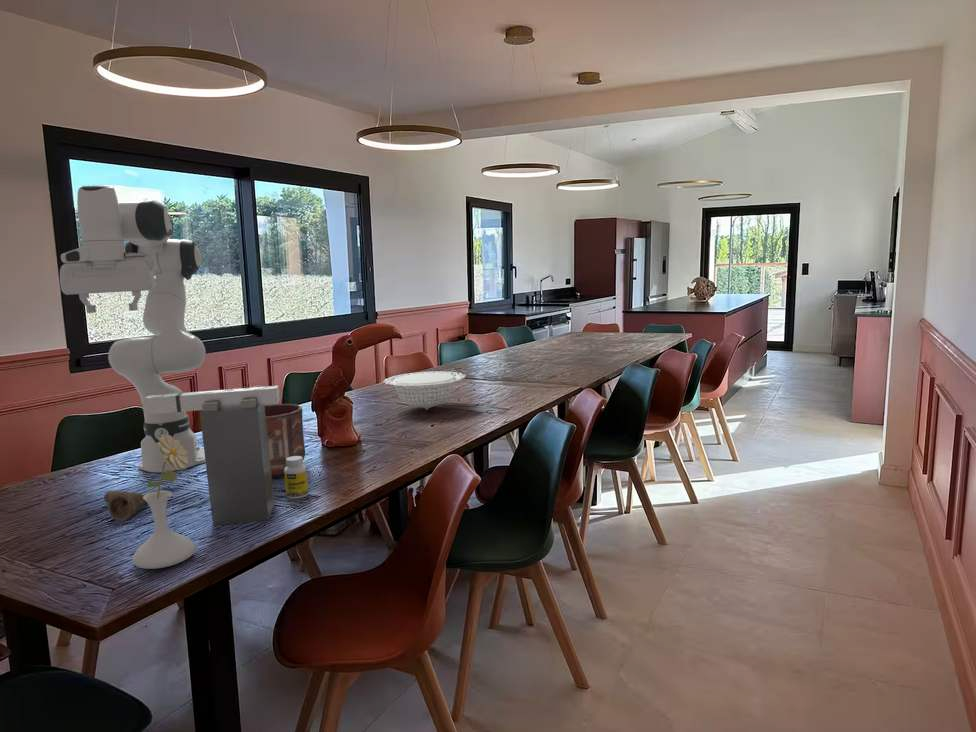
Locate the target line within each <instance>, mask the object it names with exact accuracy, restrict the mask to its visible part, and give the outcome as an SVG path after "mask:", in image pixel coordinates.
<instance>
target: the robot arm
mask: <svg viewBox="0 0 976 732" xmlns="http://www.w3.org/2000/svg"><path fill="white" fill-rule="evenodd" d="M76 200H77V201H76V202H77V206H76V207H77V215H78V216H77V218H78V223H79V226H80V228H81V232H82V236H81V243H82V244H81V245H82V246H81V247H78V248H77V247H76V248H75V249H72V250H68V251H67V252H64V253H63V252H62V253H61V254H60V260H61V262H62V263H63V264H62V265H61V266H60V269H59V285H60V291H61V292H62V293H63V294H64V295H66V296H67V295H68V296H70V295H78V296H79V301H81V303H82V304H83V305H84V306H85V309H86V310H85V311H86V313H87V314H95V313H97V309H96V304H92V303H91V302H90V301H89V298H90V294H107V293H109V294H110V293H124V292H125V293H126V292H127V293H128V292H131V296H132V297H134V298H133V299H132V302H131V303H128V310H129V311H131V312H132V311H138V310H139V308H138V307H139V305H138V303H139V301H140V299H141V297H142V292H144V291H147V295H146V300H145V304H144V309H143V315H142V323H143V326H144V328H146V330H147V331H149V332H150V333H151V334H152V336H150V335H149V336H137V337H134V336H133V337H128V338H124V339H119V340H116V341H115V342H113V344H112V345H111V346H110V348H109V350H108V356H107V359H108V363H109V366H110V367H111V368H112V370H113V371H115V372H116V373H117V374H119V375H121V376H122V377H124V378H125V379H126V380H128V381H129V382H130V383H131V384H132V385H133V387H134V388H135V390H136V391H137V392H138V395H139V397H140V401H141V405H142V411H143V416H144V422H143V430H144V435H145V437H144V438H143V439H142V440H141V441H140V448H141V449H140V451H141V463H139V464H138V465H137V470H143V471H146V472H148V473H161V472H162V467H163V464H164V460H163V456H161V454H160V451H159V449H158V447H159V446H158V442H160V441H159V438H161V435H163V436H164V437H165V436H166V435H167V434H168V435H169V436H172V438H173V439H174V440H175V441H176V440H178V441H179V442H180V445H181V446H183V448H184V450H186V451H187V455H185V456H186V457H188V462H189V463H188V464H186V463H184V465H185V467H186V469H187V468H191V467H193V466H197V465H201V464H204V463H206V461H205V453H204V447H199V445H198V439H197V438H198V437H197V435H196V434H195V433H194V431H192V430H191V425H190V415H189V414H187V411H184V412H172V413H160V414H147V415H145V408H144V400H143V398H145V397H147V396H149V395H162V394H175V393H183V391H182V390H181V389H180V388H179V387H177V386H176V385H173V384H170V383H168V382H166V381H165V380H164V379H163V378H162V377H161V374H169V373H183V372H188V371H192V370H195V369H198V368H201V366H202V365H203V363H204V361H205V359H206V347H205V345H204V343H203V341H202V340H201V339H200V337H198V336H196V335H194V334H192V333H191V332H190V331H188V330H187V328H186V326H185V314H186V313H185V312H186V302H187V294H186V287H185V284H184V281H185V279H186V281H189V280H191V279H192V277H193V276H194V275H195V274H196V273H197V272H198V270H200V267H201V263H202V253H201V250H200V249H199V246H198V244H197V243H196V242H195V241H194V240H191V239H185V238H182V239H175V238H173V239H171V236H172V235H173V233H174V223H173V218H172V216H171V215H170V214H169V212H168V210H167V208H166V207H165V205H163V203H161V202H159V201H158V200H156V199H149V200H142V201H141V200H137V201H118V197H117V193H116V190H115V188H114V186H111V185H108V184H91V185H89V184H88V185H82V186H81V187H79V188H78V190H77V199H76ZM125 242H126V243H125ZM166 470H171V471H173V472H175V471H178V470H177V469H176V468H174V469H172V468H171V466H170V465H168V464H167V463H166V464H165V467H164V471H163V473H164V472H165V471H166ZM180 470H181V469H180V468H179V471H180Z"/></svg>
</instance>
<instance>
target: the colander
mask: <svg viewBox="0 0 976 732" xmlns="http://www.w3.org/2000/svg"><path fill="white" fill-rule="evenodd" d="M466 376H467V375H466V374H463V373H462V372H457V371H455V372H454V371H443V370H439V371H432V370H430V371H419V372H410V373H402V374H401V373H400V374H398V375H397V374H396V375H393V376H392V375H391V376H390V377H388V378H384V380H382V383H384V384H386V385H390V386H394V389H395V391H396V394H397V396H398V398H399V399H400V401H401V402H403V403H404V404H406V405H409V406H412V407H417V408H420V409H422V408H423V409H425V411H428V410H429V408H432V407H433V408H434V407H436V406H437V405H441V404H444V403H446V402H447V401H448V400H450V399H451V396H452V395H453V394H454V390H455V386H456V382H459V381H463V379H465V378H466ZM409 393H410V394H409Z"/></svg>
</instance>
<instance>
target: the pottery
mask: <svg viewBox="0 0 976 732" xmlns="http://www.w3.org/2000/svg"><path fill="white" fill-rule="evenodd" d="M264 407H265V417H266V427H267V437H268V447H269V457H270V466H271V476H272V479H279V478H285V476H284V469H285V468H286V467H287V465H286V458H288V457H292V456H301V457H302V458H303V461H304V459H305V456H306V446H305V437H304V424H303V422H304V421H303V407H302V406H301V405H299V404H294V403H278V404H270V405H264Z"/></svg>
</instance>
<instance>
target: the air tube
mask: <svg viewBox="0 0 976 732" xmlns="http://www.w3.org/2000/svg"><path fill="white" fill-rule="evenodd" d="M252 398H256V404H257V405H264V406H265V405H274V404H280V403H279V402H281V400H280V389H279V385H268V386H256V387H242V388H230V389H229V388H228V389H216V390H214V389H213V390H205V391H204V390H203V391H202V390H201V391H191V392H182V393H175V394H162V395H149V396H147V397H145V398H143V400H144V408H145V415H147V414H160V413H172V412H184V411H186V412H194V411H203V409H202V404H203V403H204V402H215V401H218V402H219V409H221V408H233V407H241V403H240V401H241V400H242V399H252Z"/></svg>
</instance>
